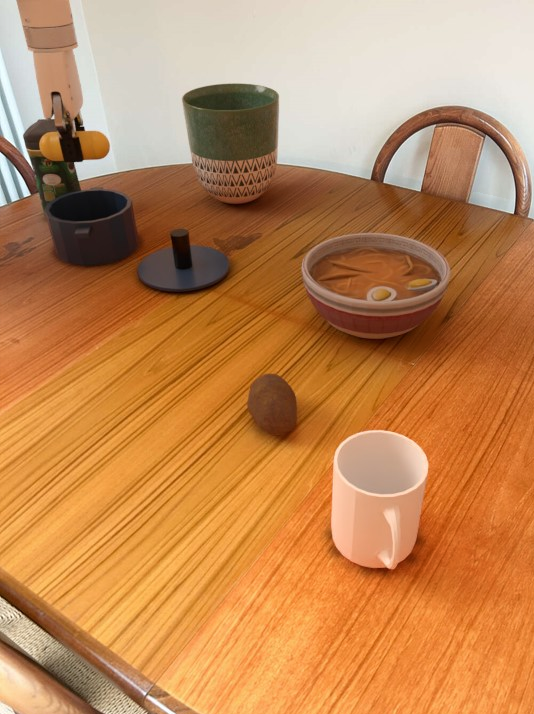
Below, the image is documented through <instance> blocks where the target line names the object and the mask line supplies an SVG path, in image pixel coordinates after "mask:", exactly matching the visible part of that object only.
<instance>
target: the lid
mask: <svg viewBox="0 0 534 714" xmlns="http://www.w3.org/2000/svg"><path fill="white" fill-rule="evenodd" d="M189 232H190V231H189V230H188V229H186V228H175V229H172V230H171V231H170V234H169V235H170V241H171V246H169V247H165V248H161V249H159V250H155V251H154V252H152V253H150V254H148V255H147V256H145V257H144V258H143V259H141V261H140V262H139V264H138V267H137V276H138V278H139V280H140V282H142V284H144V285H145V286H148V287H151V288H153V289H156V290H159V291H163V292H176V293H177V292H190V291H196V290H201V289H204V288H207V287H211V286H213V285H215V284H217V283H218V282H220V281H222V280H223V279H224V278H225V277H226V276H227V274H228V273H229V271H230V267H231V265H230V264H231V263H230V259H229V258H228V257H227V255H226V254H225V253H224V252H222V251H221V250H218V249H216V248H213V247H209V246H206V245H198V244H191V239H190V233H189Z"/></svg>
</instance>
